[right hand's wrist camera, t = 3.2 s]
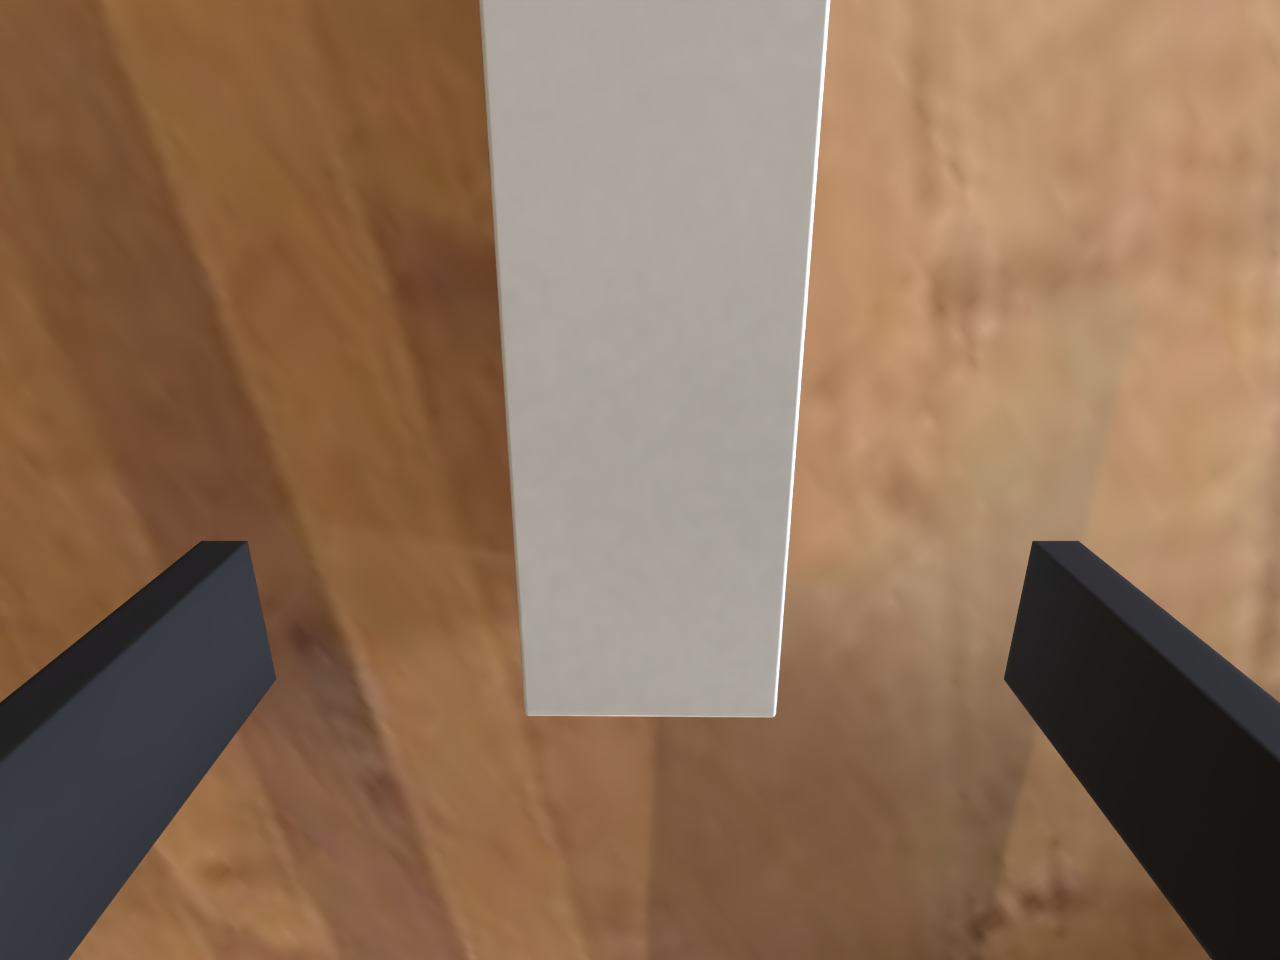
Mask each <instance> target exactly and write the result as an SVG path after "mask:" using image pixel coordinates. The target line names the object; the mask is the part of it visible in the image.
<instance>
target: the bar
mask: <svg viewBox="0 0 1280 960" xmlns="http://www.w3.org/2000/svg"><path fill="white" fill-rule="evenodd" d="M829 7H830V0H479V9H480V25H481V40H482V56H483V71H484V87H485V102H486V118H487V134H488V149H489V165H490V180H491V196H492V211H493V227H494V242H495V258H496V274H497V289H498V305H499V320H500V336H501V351H502V367H503V382H504V398H505V414H506V429H507V445H508V460H509V476H510V491H511V507H512V522H513V538H514V554H515V569H516V585H517V600H518V616H519V631H520V647H521V662H522V678H523V694H524V709H525V713H526V715H528V716H647V717H774V716H775V714H776V704H777V691H778V678H779V665H780V652H781V639H782V625H783V612H784V599H785V586H786V573H787V560H788V547H789V533H790V520H791V507H792V494H793V481H794V468H795V454H796V441H797V428H798V415H799V402H800V389H801V375H802V362H803V349H804V336H805V323H806V310H807V297H808V283H809V270H810V257H811V244H812V231H813V218H814V204H815V191H816V178H817V165H818V152H819V139H820V126H821V112H822V99H823V86H824V73H825V60H826V47H827V33H828V20H829Z"/></svg>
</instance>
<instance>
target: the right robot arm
mask: <svg viewBox="0 0 1280 960" xmlns="http://www.w3.org/2000/svg"><path fill="white" fill-rule="evenodd" d="M275 680H276V676H275V671H274V667H273V662H272V657H271V652H270V647H269V643H268V638H267V633H266V628H265V623H264V619H263V614H262V609H261V604H260V599H259V595H258V590H257V585H256V580H255V575H254V571H253V566H252V561H251V556H250V551H249V547H248V542H247V541H201V542H200V543H198V544H197V545H196V546H195V547H193V548H192V549H191V550H190V551H189V552H187V553H186V554H185V555H184V556H182V557H181V558H180V559H179V560H177V561H176V562H175V563H174V564H172V565H171V566H170V567H169V568H167V569H166V570H165V571H164V572H162V573H161V574H160V575H159V576H157V577H156V578H155V579H154V580H152V581H151V582H150V583H149V584H147V585H146V586H145V587H144V588H142V589H141V590H140V591H139V592H138V593H136V594H135V595H134V596H133V597H131V598H130V599H129V600H128V601H126V602H125V603H124V604H123V605H121V606H120V607H119V608H118V609H116V610H115V611H114V612H113V613H111V614H110V615H109V616H108V617H106V618H105V619H104V620H103V621H101V622H100V623H99V624H98V625H96V626H95V627H94V628H93V629H91V630H90V631H89V632H88V633H87V634H85V635H84V636H83V637H82V638H80V639H79V640H78V641H77V642H75V643H74V644H73V645H72V646H70V647H69V648H68V649H67V650H65V651H64V652H63V653H62V654H60V655H59V656H58V657H57V658H55V659H54V660H53V661H52V662H50V663H49V664H48V665H47V666H45V667H44V668H43V669H42V670H40V671H39V672H38V673H37V674H36V675H34V676H33V677H32V678H31V679H29V680H28V681H27V682H26V683H24V684H23V685H22V686H21V687H19V688H18V689H17V690H16V691H14V692H13V693H12V694H11V695H9V696H8V697H7V698H6V699H4V700H3V701H2V702H1V703H0V960H68V959H69V958H70V956H71V955H72V954H73V952H74V951H75V950H76V948H77V947H78V946H79V944H80V943H81V942H82V940H83V939H84V937H85V936H86V935H87V933H88V932H89V931H90V929H91V928H92V927H93V925H94V924H95V923H96V921H97V920H98V919H99V917H100V916H101V915H102V913H103V912H104V911H105V909H106V908H107V906H108V905H109V904H110V902H111V901H112V900H113V898H114V897H115V896H116V894H117V893H118V892H119V890H120V889H121V888H122V886H123V885H124V884H125V882H126V881H127V880H128V878H129V877H130V875H131V874H132V873H133V871H134V870H135V869H136V867H137V866H138V865H139V863H140V862H141V861H142V859H143V858H144V857H145V855H146V854H147V853H148V851H149V850H150V849H151V847H152V846H153V844H154V843H155V842H156V840H157V839H158V838H159V836H160V835H161V834H162V832H163V831H164V830H165V828H166V827H167V826H168V824H169V823H170V822H171V820H172V819H173V817H174V816H175V815H176V813H177V812H178V811H179V809H180V808H181V807H182V805H183V804H184V803H185V801H186V800H187V799H188V797H189V796H190V795H191V793H192V792H193V791H194V789H195V788H196V786H197V785H198V784H199V782H200V781H201V780H202V778H203V777H204V776H205V774H206V773H207V772H208V770H209V769H210V768H211V766H212V765H213V764H214V762H215V761H216V760H217V758H218V757H219V755H220V754H221V753H222V751H223V750H224V749H225V747H226V746H227V745H228V743H229V742H230V741H231V739H232V738H233V737H234V735H235V734H236V733H237V731H238V730H239V729H240V727H241V726H242V724H243V723H244V722H245V720H246V719H247V718H248V716H249V715H250V714H251V712H252V711H253V710H254V708H255V707H256V706H257V704H258V703H259V702H260V700H261V699H262V698H263V696H264V695H265V693H266V692H267V691H268V689H269V688H270V687H271V685H272V684H273V683H274V681H275ZM1004 680H1005V681H1006V683H1007V684H1008V685H1009V687H1010V688H1011V689H1012V691H1013V692H1014V693H1015V695H1016V696H1017V698H1018V699H1019V700H1020V702H1021V703H1022V704H1023V706H1024V707H1025V708H1026V710H1027V711H1028V712H1029V714H1030V715H1031V716H1032V718H1033V719H1034V720H1035V722H1036V723H1037V724H1038V726H1039V727H1040V729H1041V730H1042V731H1043V733H1044V734H1045V735H1046V737H1047V738H1048V739H1049V741H1050V742H1051V743H1052V745H1053V746H1054V747H1055V749H1056V750H1057V751H1058V753H1059V754H1060V755H1061V757H1062V758H1063V760H1064V761H1065V762H1066V764H1067V765H1068V766H1069V768H1070V769H1071V770H1072V772H1073V773H1074V774H1075V776H1076V777H1077V778H1078V780H1079V781H1080V782H1081V784H1082V785H1083V786H1084V788H1085V789H1086V791H1087V792H1088V793H1089V795H1090V796H1091V797H1092V799H1093V800H1094V801H1095V803H1096V804H1097V805H1098V807H1099V808H1100V809H1101V811H1102V812H1103V813H1104V815H1105V816H1106V817H1107V819H1108V820H1109V822H1110V823H1111V824H1112V826H1113V827H1114V828H1115V830H1116V831H1117V832H1118V834H1119V835H1120V836H1121V838H1122V839H1123V840H1124V842H1125V843H1126V844H1127V846H1128V847H1129V849H1130V850H1131V851H1132V853H1133V854H1134V855H1135V857H1136V858H1137V859H1138V861H1139V862H1140V863H1141V865H1142V866H1143V867H1144V869H1145V870H1146V871H1147V873H1148V874H1149V875H1150V877H1151V878H1152V880H1153V881H1154V882H1155V884H1156V885H1157V886H1158V888H1159V889H1160V890H1161V892H1162V893H1163V894H1164V896H1165V897H1166V898H1167V900H1168V901H1169V902H1170V904H1171V905H1172V906H1173V908H1174V909H1175V911H1176V912H1177V913H1178V915H1179V916H1180V917H1181V919H1182V920H1183V921H1184V923H1185V924H1186V925H1187V927H1188V928H1189V929H1190V931H1191V932H1192V933H1193V935H1194V936H1195V937H1196V939H1197V940H1198V942H1199V943H1200V944H1201V946H1202V947H1203V948H1204V950H1205V951H1206V952H1207V954H1208V955H1209V956H1210V958H1211V959H1212V960H1280V703H1279V702H1278V701H1277V700H1276V699H1274V698H1273V697H1272V696H1271V695H1269V694H1268V693H1267V692H1266V691H1264V690H1263V689H1262V688H1261V687H1259V686H1258V685H1257V684H1256V683H1254V682H1253V681H1252V680H1251V679H1249V678H1248V677H1247V676H1246V675H1244V674H1243V673H1242V672H1241V671H1240V670H1238V669H1237V668H1236V667H1235V666H1233V665H1232V664H1231V663H1230V662H1228V661H1227V660H1226V659H1225V658H1223V657H1222V656H1221V655H1220V654H1218V653H1217V652H1216V651H1215V650H1213V649H1212V648H1211V647H1210V646H1208V645H1207V644H1206V643H1205V642H1203V641H1202V640H1201V639H1200V638H1198V637H1197V636H1196V635H1195V634H1193V633H1192V632H1191V631H1190V630H1189V629H1187V628H1186V627H1185V626H1184V625H1182V624H1181V623H1180V622H1179V621H1177V620H1176V619H1175V618H1174V617H1172V616H1171V615H1170V614H1169V613H1167V612H1166V611H1165V610H1164V609H1162V608H1161V607H1160V606H1159V605H1157V604H1156V603H1155V602H1154V601H1152V600H1151V599H1150V598H1149V597H1147V596H1146V595H1145V594H1144V593H1142V592H1141V591H1140V590H1139V589H1138V588H1136V587H1135V586H1134V585H1133V584H1131V583H1130V582H1129V581H1128V580H1126V579H1125V578H1124V577H1123V576H1121V575H1120V574H1119V573H1118V572H1116V571H1115V570H1114V569H1113V568H1111V567H1110V566H1109V565H1108V564H1106V563H1105V562H1104V561H1103V560H1101V559H1100V558H1099V557H1098V556H1096V555H1095V554H1094V553H1093V552H1091V551H1090V550H1089V549H1088V548H1087V547H1085V546H1084V545H1083V544H1082V543H1080V542H1079V541H1033V542H1032V547H1031V551H1030V556H1029V561H1028V566H1027V571H1026V575H1025V580H1024V585H1023V590H1022V595H1021V599H1020V604H1019V609H1018V614H1017V619H1016V623H1015V628H1014V633H1013V638H1012V643H1011V647H1010V652H1009V657H1008V662H1007V667H1006V671H1005V676H1004Z"/></svg>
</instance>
